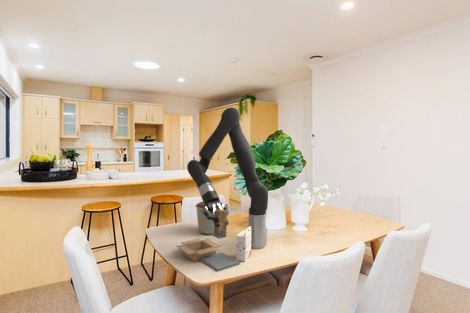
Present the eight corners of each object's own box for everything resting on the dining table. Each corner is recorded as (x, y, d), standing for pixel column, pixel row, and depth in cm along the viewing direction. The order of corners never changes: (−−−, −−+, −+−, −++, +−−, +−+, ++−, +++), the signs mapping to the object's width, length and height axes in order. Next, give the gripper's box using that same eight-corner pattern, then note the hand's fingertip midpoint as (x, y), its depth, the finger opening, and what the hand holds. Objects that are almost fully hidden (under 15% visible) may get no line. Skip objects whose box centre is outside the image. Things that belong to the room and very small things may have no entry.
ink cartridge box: (241, 253, 135) (242, 224, 134) (251, 255, 133) (251, 225, 132) (235, 260, 127) (235, 229, 126) (245, 262, 125) (246, 230, 124)
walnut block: (221, 234, 127) (221, 208, 126) (226, 236, 124) (226, 210, 123) (213, 236, 124) (214, 210, 124) (218, 238, 121) (219, 211, 121)
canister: (188, 233, 163) (189, 198, 162) (205, 225, 179) (206, 194, 178) (214, 239, 155) (215, 202, 154) (230, 230, 171) (230, 197, 170)
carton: (204, 244, 146) (204, 237, 146) (224, 255, 132) (224, 247, 132) (173, 252, 135) (173, 244, 134) (191, 265, 120) (191, 256, 120)
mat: (221, 254, 134) (221, 252, 134) (239, 264, 123) (239, 262, 123) (200, 260, 126) (200, 257, 126) (217, 271, 115) (217, 269, 115)
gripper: (198, 191, 124) (213, 223, 116) (224, 188, 133) (239, 218, 124) (192, 200, 129) (206, 232, 120) (217, 197, 138) (231, 227, 129)
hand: (222, 225), depth 122 cm, fingers closed on walnut block, 4 cm apart
